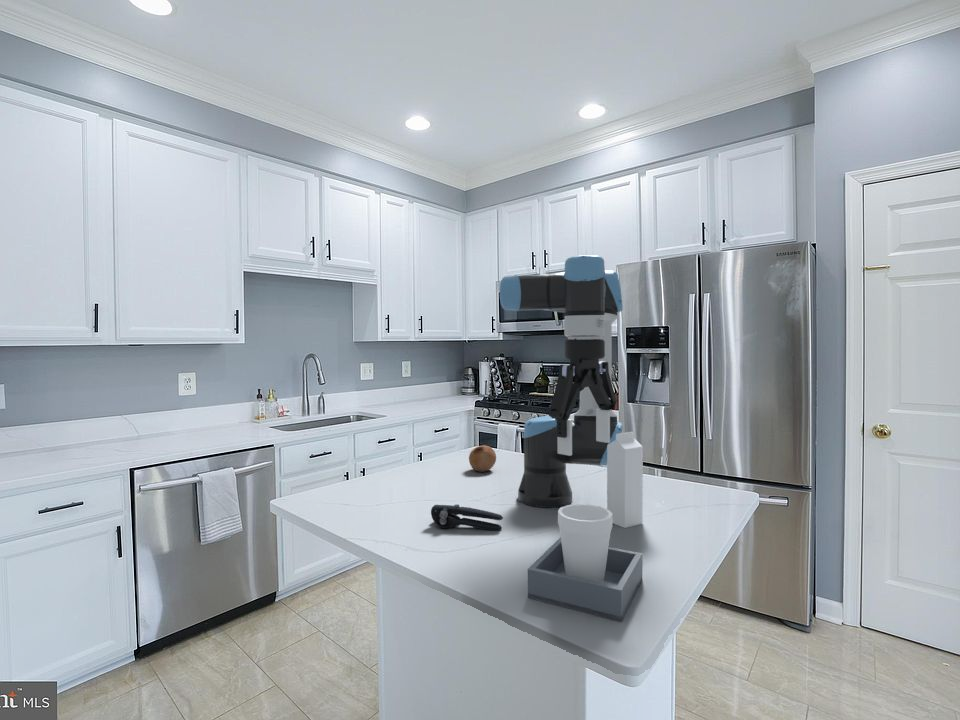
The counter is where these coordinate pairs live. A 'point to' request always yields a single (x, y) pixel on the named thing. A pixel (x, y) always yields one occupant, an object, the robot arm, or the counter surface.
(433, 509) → the can opener
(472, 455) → the onion
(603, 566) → the foam cup
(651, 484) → the counter surface
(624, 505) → the pale carton
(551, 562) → the bin
